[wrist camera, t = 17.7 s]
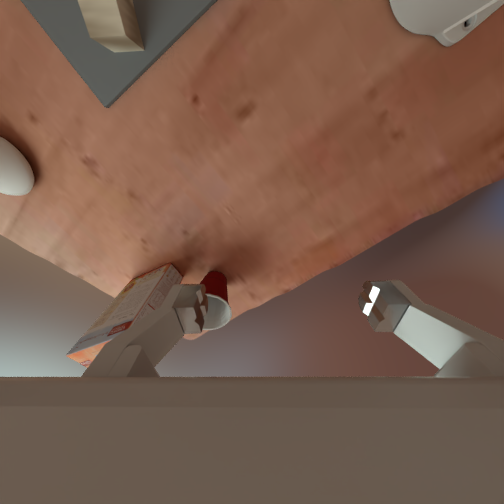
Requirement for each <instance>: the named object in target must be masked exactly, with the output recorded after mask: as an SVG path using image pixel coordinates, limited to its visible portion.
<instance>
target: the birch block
mask: <svg viewBox="0 0 504 504" xmlns="http://www.w3.org/2000/svg"><path fill="white" fill-rule="evenodd" d="M78 3H79V6H80V9H81V12H82V15H83V18H84V21H85V24H86V26H87V29H88V32H89V35H90V38H92V39H93V40H95V41H97V42H98V43H100V44H101V45H103V46H105V47H106V48H108V49H109V50H111V51H113V52H114V53H115V52H131V51H145V50H144V46H143V42H142V38H141V34H140V29H139V25H138V21H137V17H136V13H135V9H134V4H133V0H78Z"/></svg>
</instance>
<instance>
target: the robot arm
mask: <svg viewBox="0 0 504 504" xmlns="http://www.w3.org/2000/svg"><path fill="white" fill-rule="evenodd" d="M503 4H504V0H390V5H391V8H392V11H393V13H394V15H395V17H396V19H397V20H398V22H399V23H400V24H401V25H402V26H403V27H404V28H405V29H407V30H408V31H410V32H412V33H416V34H423V35H431V36H434V37H435V38H436V39H437V40H438V41H439V42H440V43H441V44H442V45H444V46H452V45H453V44H455V43H457V42H458V41H460V40H461V39H462V38H464V37H465V36H466V35H467V34H468V33H469V32H471V31H472V30H473V29H474V28H475V27H477V26H478V25H479V24H480V23H481V22H483V21H484V20H485V19H486V18H487V17H489V16H490V15H491V14H492V13H493V12H495V11H496V10H497V9H498V8H499V7H500V6H502V5H503ZM465 21H466V26H465V27H464V23H465ZM363 289H364V291H363V292H362V293H360V295H359V298H358V300H359V306H360V308H361V310H362V312H363V313H365V314H366V315H368V319H367V320H368V321H369V323H370V325H371V326H372V328H373V329H374V331H376V332H394V334H396V335H397V336H398V337H400V338H401V339H402V340H403V341H405V342H406V343H407V344H409V345H410V346H411V347H413V348H414V349H415V350H416V351H417V352H419V353H420V354H421V355H423V356H424V357H425V358H426V359H428V360H429V361H430V362H432V363H433V364H434V365H435V366H437V367H438V368H439V369H440V370H439V371H438V372H437V373H436V374H435V375H434V377H160V376H159V374H158V373H157V371H156V370H155V368H154V367H155V366H156V365H157V364H158V363H159V362H160V361H161V360H162V359H163V357H164V356H165V355H166V354H167V353H168V352H169V351H170V350H171V349H172V348H173V347H174V345H175V344H176V343H177V342H178V341H179V340H180V339H181V338H182V337H183V336H184V334H193V333H201V332H202V329H203V325H204V322H205V321H204V316H205V315H206V314H207V311H208V297H207V295H205V291H206V288H205V285H204V284H175V285H173V286H172V288H171V290H170V291H169V293H168V295H167V297H166V298H165V300H164V302H163V304H162V305H161V307H160V308H157V309H155V310H154V311H152V312H151V313H150V314H148V315H147V316H145V317H144V318H142V319H141V320H139V321H138V322H137V323H135V324H134V325H132V326H131V327H129V328H128V329H126V330H125V331H124V332H122V333H121V334H119V335H118V336H116V337H115V338H113V339H112V340H111V341H109V342H108V343H106V344H105V345H104V346H103V348H102V349H101V351H100V352H99V353H98V355H97V356H96V357H95V359H94V360H93V361H92V363H91V364H90V365H89V367H88V368H87V369H86V371H85V372H84V373H83V375H82V376H81V377H0V504H504V340H501V339H499V338H497V337H495V336H493V335H491V334H489V333H487V332H485V331H483V330H481V329H479V328H477V327H475V326H472V325H470V324H468V323H466V322H464V321H462V320H460V319H458V318H456V317H454V316H452V315H450V314H448V313H446V312H444V311H441V310H439V309H437V308H435V307H433V306H431V305H426V304H425V303H423V302H422V301H421V300H420V299H419V298H418V297H417V296H416V295H415V294H414V293H413V292H412V291H411V290H410V289H409V288H408V287H407V286H406V285H405V284H404V283H403V282H401V281H399V280H387V281H366V282H365V283H364V284H363Z"/></svg>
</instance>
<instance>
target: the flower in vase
mask: <svg viewBox="0 0 504 504" xmlns="http://www.w3.org/2000/svg"><path fill="white" fill-rule="evenodd" d="M33 185H34V174H33V171H32V169H31V167H30V165H29V163H28V161H27V160H26V159H25V157H24V156H23V155H22V154H21V152H20V151H19V150H18V149H17V148H16V147H14V146H13V145H12V144H11V143H9V142H8V141H7V140H5V139H4V138H2V137H0V193H3V194H8V195H25V194H27V193H29V192H30V191H31V189H32V187H33Z"/></svg>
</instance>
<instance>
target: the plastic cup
mask: <svg viewBox="0 0 504 504" xmlns="http://www.w3.org/2000/svg"><path fill="white" fill-rule="evenodd" d="M200 284H204V285H205V288H206V291H205V295H207V297H208V311H207V314H206V315H205V316H204V321H205V322H204V325H203V330H214V329H217V328H220V327H223V326H224V325H225V324H227V323H228V322H229V320H230V318H231V316H232V314H231V307H230V306H229V303H228V296H227V281H226V277H225V276H224V275H223V274H222V273H220V272H217V271H212V272H209V273H208V274H207V275H206V276H205V277H204V279H203V280H202V281H201V283H200Z"/></svg>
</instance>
